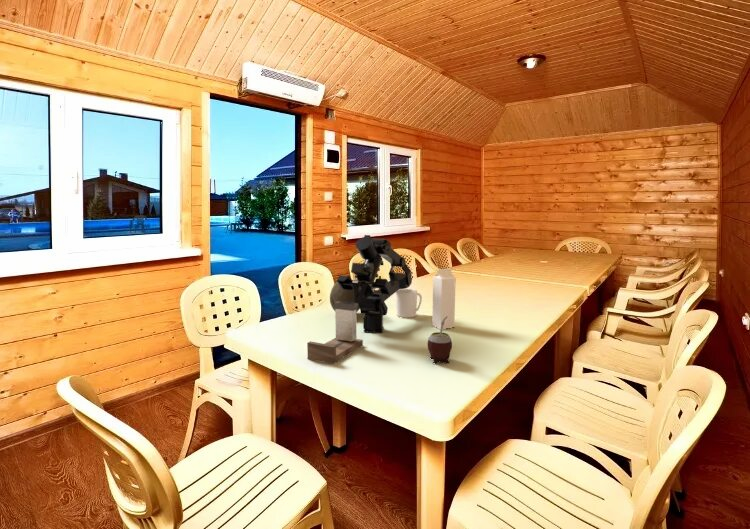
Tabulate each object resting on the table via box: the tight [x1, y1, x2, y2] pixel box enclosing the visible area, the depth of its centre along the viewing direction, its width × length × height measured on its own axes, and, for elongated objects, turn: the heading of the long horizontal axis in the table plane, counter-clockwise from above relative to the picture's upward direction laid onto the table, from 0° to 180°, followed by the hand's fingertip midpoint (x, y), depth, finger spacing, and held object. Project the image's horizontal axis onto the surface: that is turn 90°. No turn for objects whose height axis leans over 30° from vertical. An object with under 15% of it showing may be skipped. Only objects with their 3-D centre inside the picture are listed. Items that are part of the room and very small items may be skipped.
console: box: [307, 337, 364, 365], centre depth 135 cm, size 18×9×5 cm, turn 153°
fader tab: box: [334, 301, 358, 342], centre depth 140 cm, size 3×7×12 cm, turn 63°
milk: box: [431, 268, 456, 330], centre depth 161 cm, size 6×6×22 cm
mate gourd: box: [427, 316, 453, 364], centre depth 127 cm, size 8×8×15 cm
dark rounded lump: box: [329, 281, 360, 313], centre depth 178 cm, size 14×14×15 cm
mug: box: [395, 288, 423, 319], centre depth 178 cm, size 11×9×10 cm
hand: (355, 305), depth 145 cm, fingers closed
